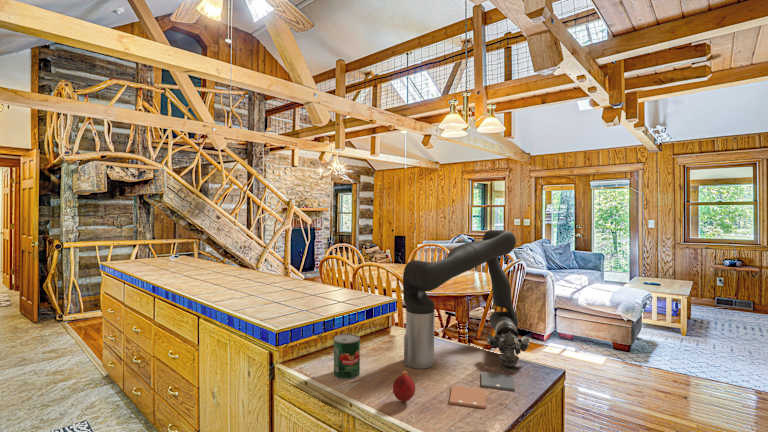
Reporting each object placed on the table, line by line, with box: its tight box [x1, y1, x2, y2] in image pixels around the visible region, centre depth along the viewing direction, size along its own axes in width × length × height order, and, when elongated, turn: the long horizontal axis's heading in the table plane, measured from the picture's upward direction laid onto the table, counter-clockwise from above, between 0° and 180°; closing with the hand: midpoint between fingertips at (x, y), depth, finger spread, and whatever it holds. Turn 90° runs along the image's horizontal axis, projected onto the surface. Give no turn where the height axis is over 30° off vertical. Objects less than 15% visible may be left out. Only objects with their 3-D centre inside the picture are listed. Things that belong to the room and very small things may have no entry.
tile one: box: [480, 371, 516, 392], centre depth 111 cm, size 9×9×1 cm
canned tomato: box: [333, 333, 361, 381], centre depth 115 cm, size 8×8×11 cm
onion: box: [392, 370, 416, 403], centre depth 99 cm, size 6×6×8 cm
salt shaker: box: [499, 331, 520, 373], centre depth 121 cm, size 6×6×12 cm
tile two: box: [448, 385, 487, 409], centre depth 102 cm, size 9×9×1 cm
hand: (510, 350), depth 118 cm, fingers closed on salt shaker, 3 cm apart
